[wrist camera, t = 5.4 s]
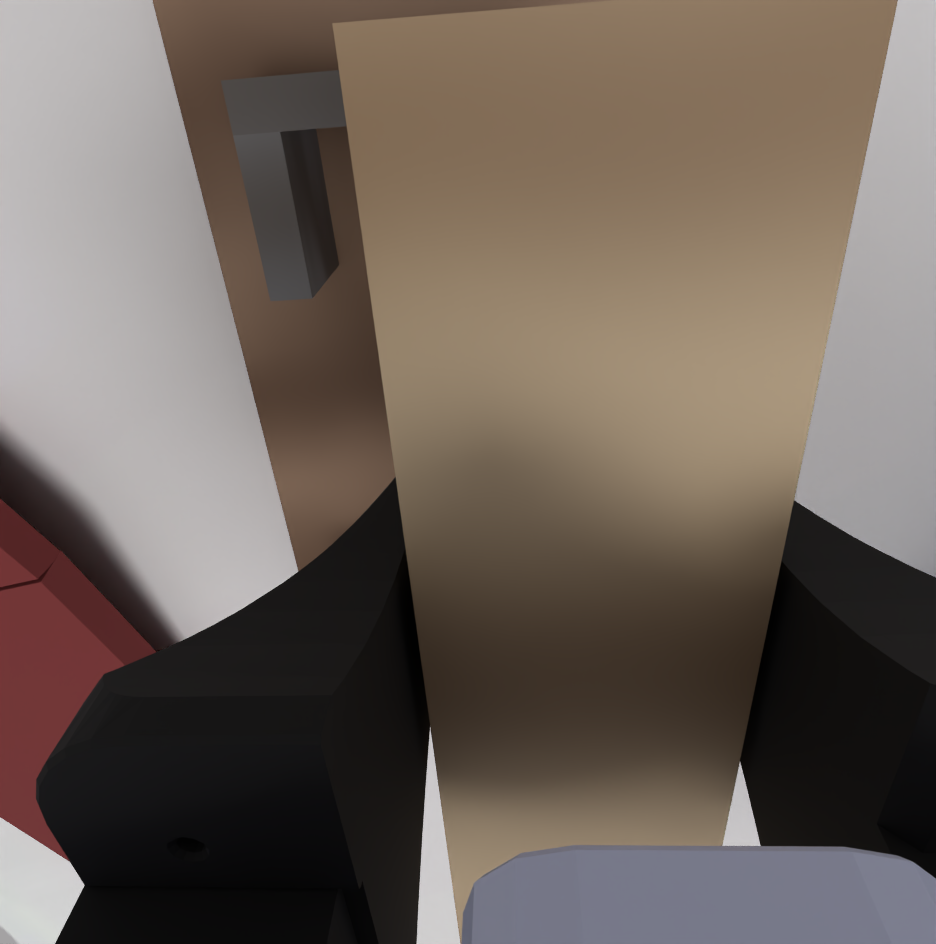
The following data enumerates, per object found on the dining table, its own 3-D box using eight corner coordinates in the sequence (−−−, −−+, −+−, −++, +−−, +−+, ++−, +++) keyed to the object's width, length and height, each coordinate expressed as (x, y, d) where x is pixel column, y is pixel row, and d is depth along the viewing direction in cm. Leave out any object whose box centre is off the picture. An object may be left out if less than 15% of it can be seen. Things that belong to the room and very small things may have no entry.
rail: (639, 696, 17) (695, 972, 12) (476, 697, 17) (463, 966, 12) (697, 16, 10) (902, -24, 5) (419, 38, 10) (332, 24, 5)
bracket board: (635, 668, 27) (653, 756, 24) (335, 673, 28) (311, 759, 25) (686, -123, 15) (739, -176, 12) (153, -66, 16) (57, -98, 13)
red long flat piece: (329, 755, 37) (12, 363, 22) (312, 852, 33) (-86, 460, 18) (132, 784, 39) (-281, 446, 24) (95, 879, 36) (-422, 548, 20)
